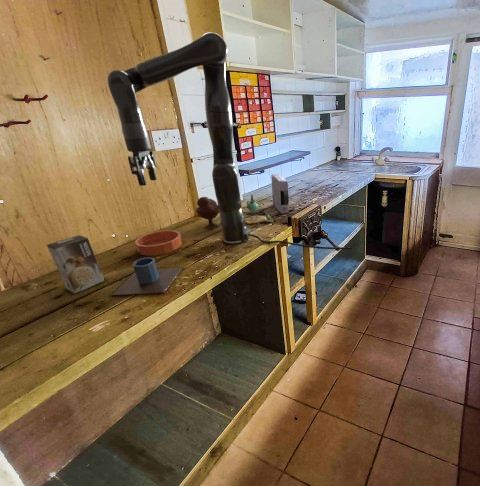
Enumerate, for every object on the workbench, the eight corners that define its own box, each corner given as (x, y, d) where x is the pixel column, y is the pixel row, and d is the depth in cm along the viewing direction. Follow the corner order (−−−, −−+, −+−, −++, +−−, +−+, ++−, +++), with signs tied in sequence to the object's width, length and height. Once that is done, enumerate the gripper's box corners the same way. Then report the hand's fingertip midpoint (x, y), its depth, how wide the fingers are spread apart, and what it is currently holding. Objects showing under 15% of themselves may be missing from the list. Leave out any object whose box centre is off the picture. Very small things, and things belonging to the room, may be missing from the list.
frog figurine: (266, 227, 148) (260, 197, 142) (236, 226, 155) (229, 197, 150) (277, 220, 156) (271, 191, 150) (248, 220, 163) (241, 192, 157)
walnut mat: (182, 268, 112) (182, 267, 112) (164, 293, 98) (164, 292, 98) (137, 271, 112) (137, 269, 111) (112, 296, 97) (111, 294, 97)
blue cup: (162, 275, 107) (157, 257, 105) (154, 284, 102) (149, 265, 99) (144, 276, 107) (138, 258, 104) (135, 285, 102) (129, 266, 99)
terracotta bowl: (187, 238, 138) (185, 229, 136) (173, 255, 123) (170, 245, 121) (149, 240, 137) (146, 231, 135) (130, 257, 122) (127, 247, 120)
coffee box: (96, 276, 109) (79, 234, 102) (105, 281, 106) (89, 237, 99) (65, 288, 102) (46, 244, 95) (74, 294, 99) (54, 248, 92)
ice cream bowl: (216, 231, 145) (210, 200, 139) (195, 230, 147) (188, 199, 141) (227, 223, 154) (222, 193, 148) (207, 222, 156) (201, 193, 150)
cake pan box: (290, 213, 166) (288, 180, 158) (281, 214, 164) (278, 181, 157) (281, 203, 182) (278, 173, 174) (272, 205, 180) (269, 174, 173)
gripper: (137, 138, 102) (150, 187, 108) (156, 134, 115) (166, 178, 121) (113, 138, 101) (128, 187, 108) (135, 134, 114) (147, 178, 121)
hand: (148, 182), depth 115 cm, fingers open, 8 cm apart
